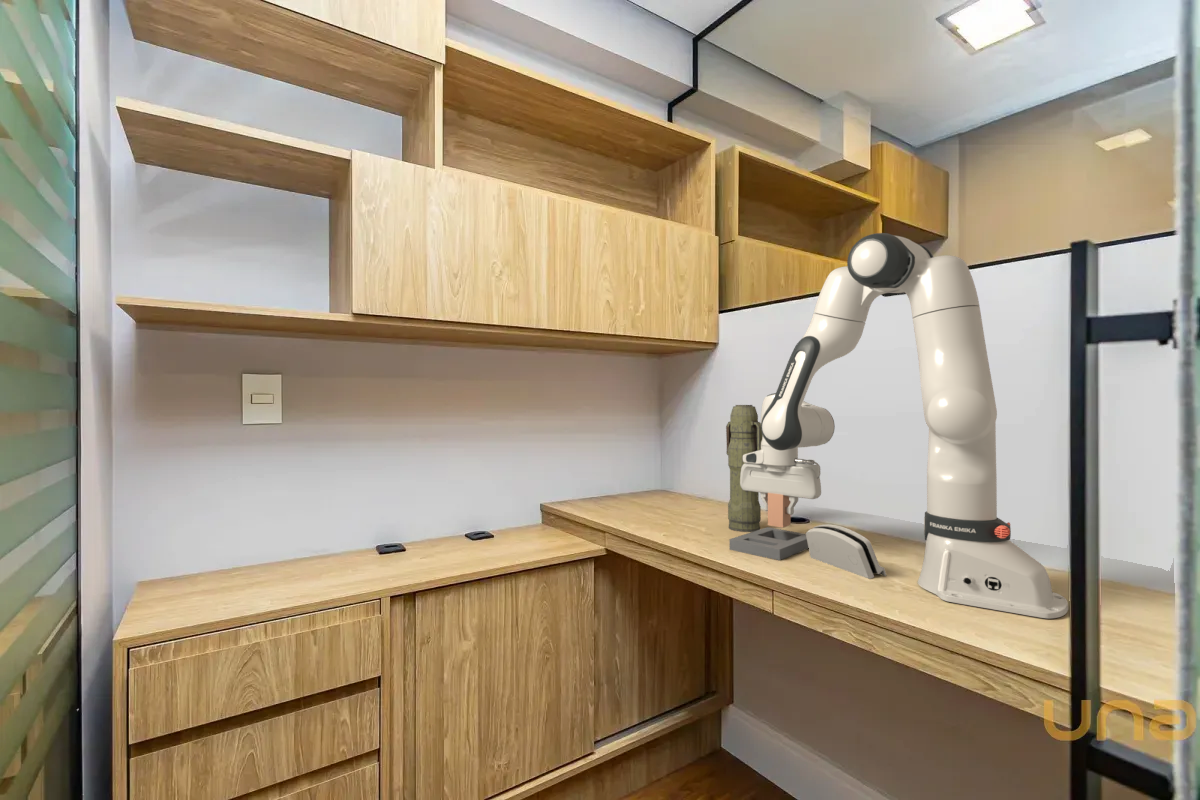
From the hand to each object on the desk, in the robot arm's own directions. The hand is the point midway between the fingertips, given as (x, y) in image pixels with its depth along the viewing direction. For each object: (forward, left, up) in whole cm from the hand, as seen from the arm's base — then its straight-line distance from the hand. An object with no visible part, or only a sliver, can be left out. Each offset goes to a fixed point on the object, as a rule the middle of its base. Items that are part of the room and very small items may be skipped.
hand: (779, 512), depth 136 cm
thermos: (+16, -10, -8) cm, 21 cm away
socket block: (0, +3, -8) cm, 9 cm away
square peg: (0, 0, -3) cm, 3 cm away
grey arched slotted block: (-18, +7, -9) cm, 21 cm away
